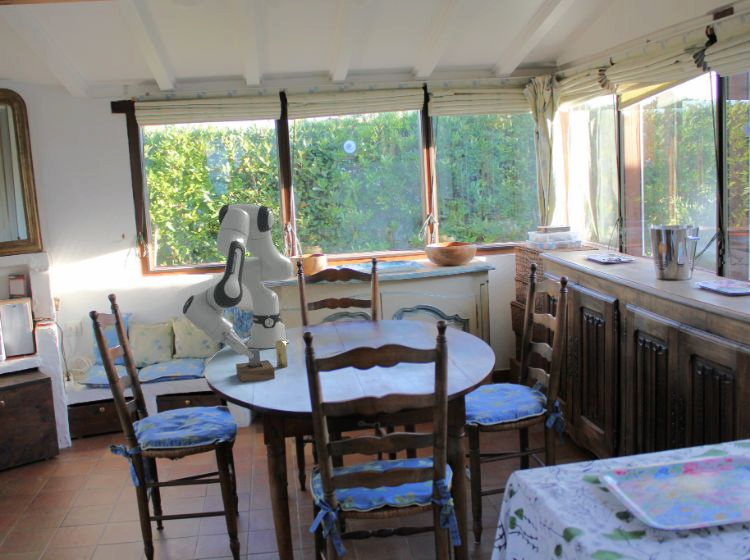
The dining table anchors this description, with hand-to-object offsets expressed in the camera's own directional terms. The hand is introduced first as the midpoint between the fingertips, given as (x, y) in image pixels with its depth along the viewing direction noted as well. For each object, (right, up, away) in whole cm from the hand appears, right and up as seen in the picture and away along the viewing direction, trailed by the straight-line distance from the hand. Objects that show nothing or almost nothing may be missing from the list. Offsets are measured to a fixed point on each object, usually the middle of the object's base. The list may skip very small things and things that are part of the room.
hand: (250, 354), depth 264 cm
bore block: (+2, -8, +2) cm, 9 cm away
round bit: (+10, -6, +14) cm, 18 cm away
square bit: (+2, -8, +2) cm, 9 cm away
